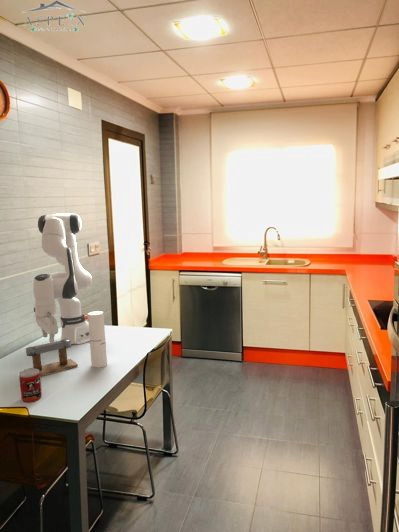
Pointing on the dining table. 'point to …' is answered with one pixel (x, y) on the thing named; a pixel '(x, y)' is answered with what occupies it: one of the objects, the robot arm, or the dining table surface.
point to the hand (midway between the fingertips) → (48, 339)
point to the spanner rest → (53, 367)
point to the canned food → (30, 385)
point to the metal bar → (48, 347)
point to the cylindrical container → (97, 339)
